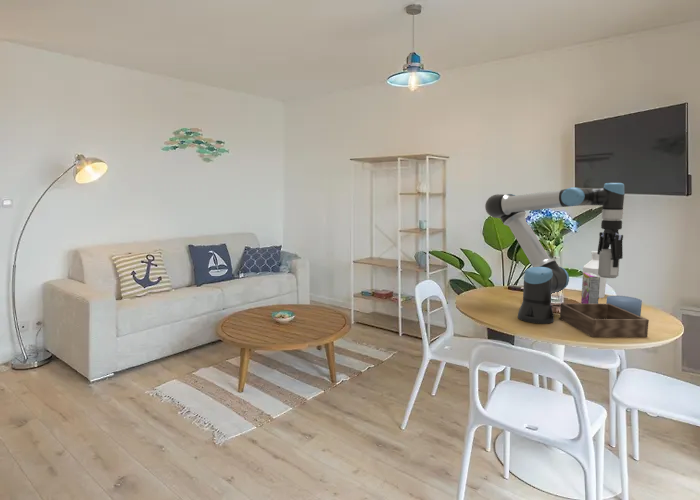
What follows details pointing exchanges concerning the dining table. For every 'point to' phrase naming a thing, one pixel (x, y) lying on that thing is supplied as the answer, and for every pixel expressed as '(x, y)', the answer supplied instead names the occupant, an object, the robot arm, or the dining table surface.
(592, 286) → the candy bar box
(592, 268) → the bottle
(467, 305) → the dining table surface
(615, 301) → the stand
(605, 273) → the can
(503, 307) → the dining table surface
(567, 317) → the crate
